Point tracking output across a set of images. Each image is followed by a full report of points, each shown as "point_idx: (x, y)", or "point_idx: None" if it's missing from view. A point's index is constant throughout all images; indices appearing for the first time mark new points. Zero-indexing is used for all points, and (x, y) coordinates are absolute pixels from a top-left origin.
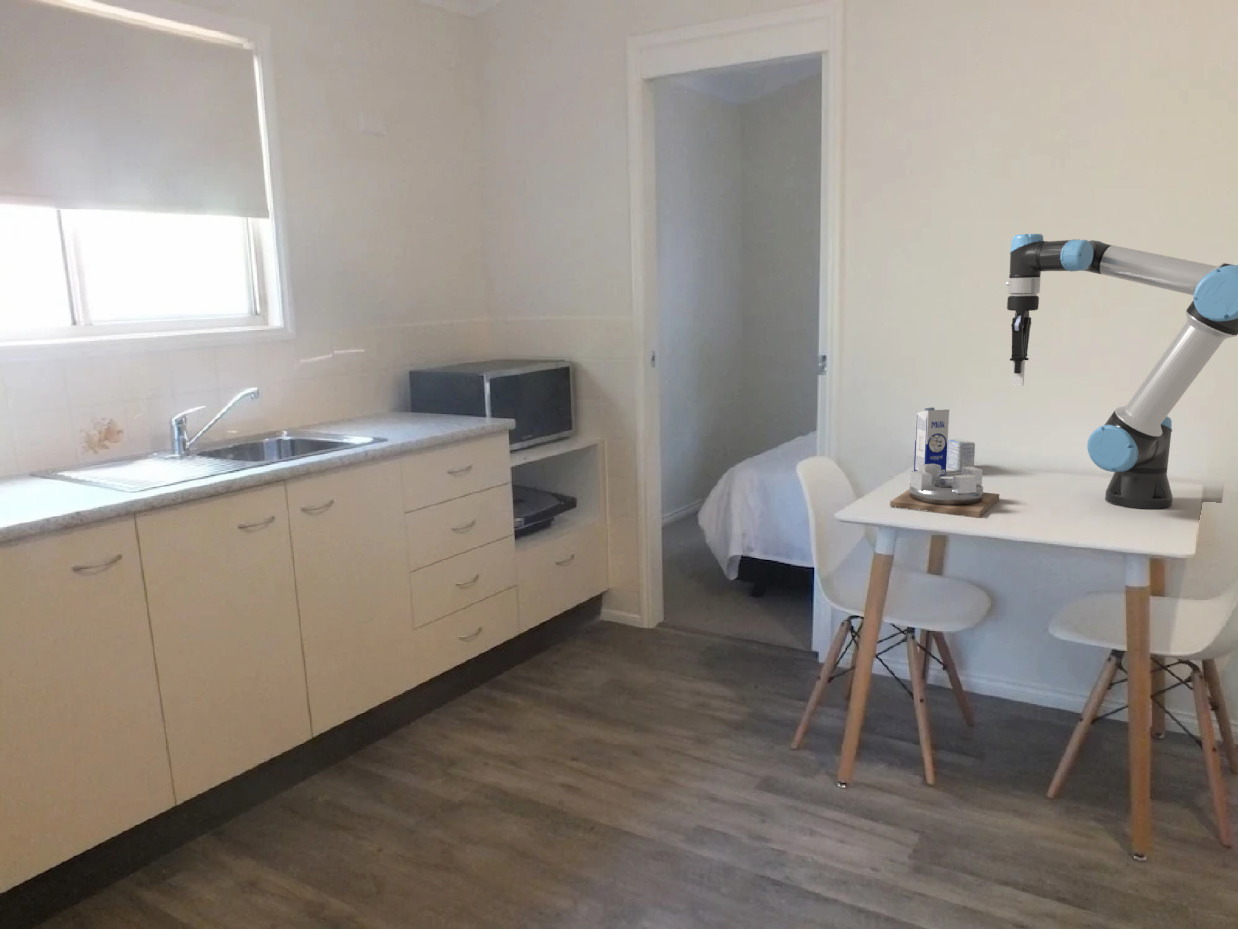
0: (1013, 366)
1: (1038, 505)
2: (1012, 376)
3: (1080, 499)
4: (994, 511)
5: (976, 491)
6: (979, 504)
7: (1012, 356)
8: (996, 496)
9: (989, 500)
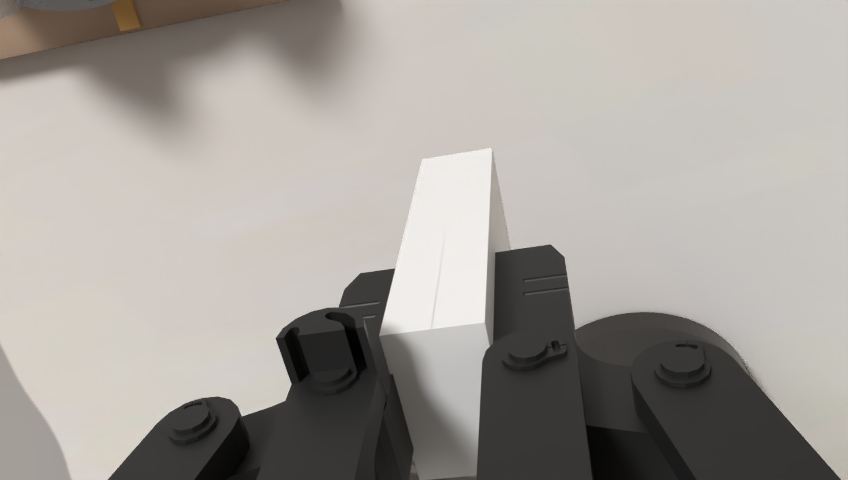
0: (397, 290)
1: (342, 158)
2: (409, 213)
3: (560, 246)
4: (114, 63)
5: (34, 6)
6: (65, 13)
7: (153, 444)
8: (262, 4)
9: (167, 13)
